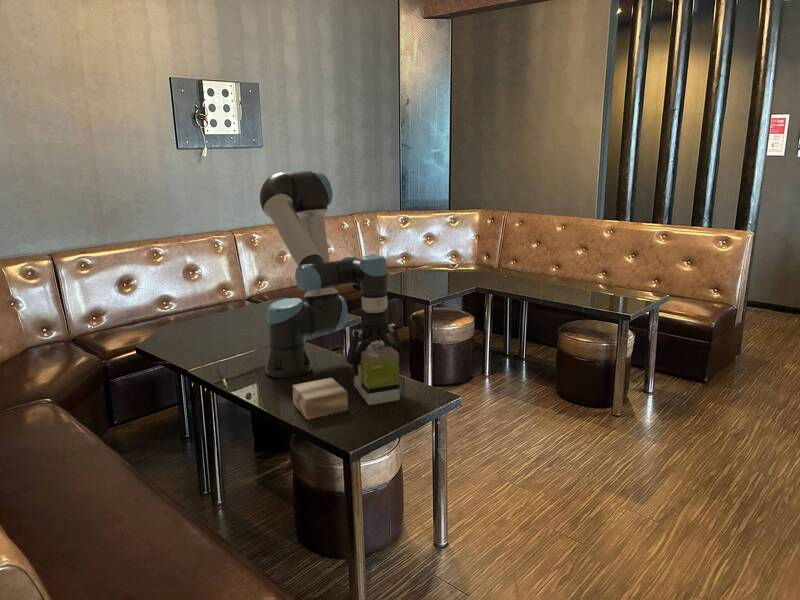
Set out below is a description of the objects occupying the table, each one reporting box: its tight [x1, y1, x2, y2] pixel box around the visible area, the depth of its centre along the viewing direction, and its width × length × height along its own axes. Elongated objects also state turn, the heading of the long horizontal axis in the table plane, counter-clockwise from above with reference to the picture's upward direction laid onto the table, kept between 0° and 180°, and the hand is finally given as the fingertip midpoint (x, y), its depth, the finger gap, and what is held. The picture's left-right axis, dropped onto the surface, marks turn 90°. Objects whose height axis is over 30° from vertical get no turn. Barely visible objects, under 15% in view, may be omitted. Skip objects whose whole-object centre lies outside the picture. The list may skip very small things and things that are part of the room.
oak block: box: [292, 377, 349, 420], centre depth 170 cm, size 12×12×6 cm
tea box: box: [353, 340, 401, 406], centre depth 178 cm, size 15×10×15 cm, turn 21°
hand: (375, 381), depth 179 cm, fingers closed on tea box, 10 cm apart
